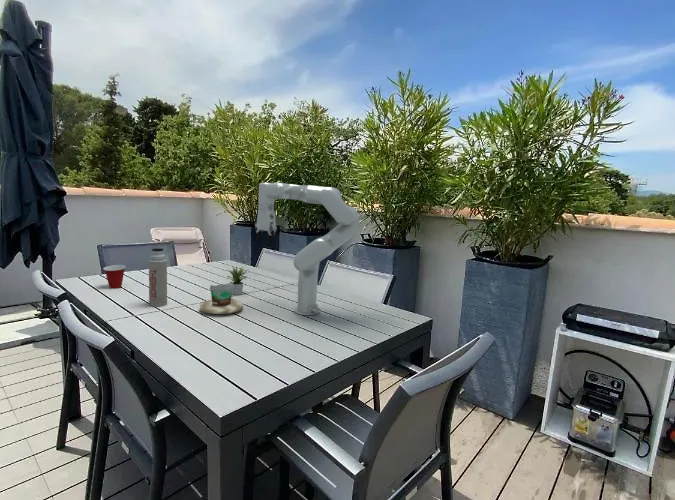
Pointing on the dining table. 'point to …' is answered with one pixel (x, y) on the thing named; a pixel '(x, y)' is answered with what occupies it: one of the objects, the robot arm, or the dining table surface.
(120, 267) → the plastic cup
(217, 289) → the food container
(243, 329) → the dining table surface
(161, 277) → the thermos bottle
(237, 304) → the turntable
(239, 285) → the house plant
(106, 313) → the dining table surface
